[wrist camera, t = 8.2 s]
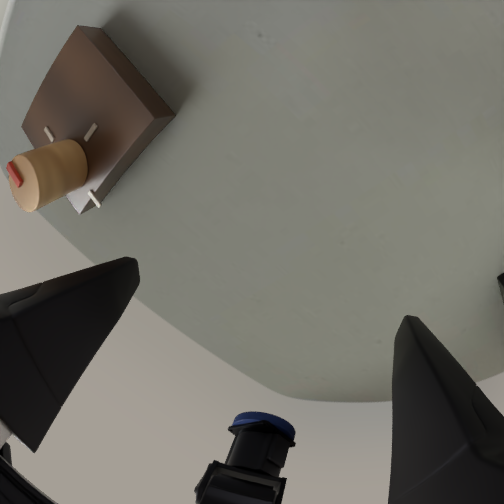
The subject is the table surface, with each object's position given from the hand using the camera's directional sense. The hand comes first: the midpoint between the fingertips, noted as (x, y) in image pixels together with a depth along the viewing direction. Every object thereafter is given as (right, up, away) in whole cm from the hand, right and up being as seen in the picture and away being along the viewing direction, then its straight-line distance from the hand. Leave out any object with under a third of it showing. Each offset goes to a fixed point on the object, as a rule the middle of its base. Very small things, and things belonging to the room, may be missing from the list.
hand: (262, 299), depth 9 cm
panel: (-12, +11, +9) cm, 19 cm away
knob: (-13, +8, +9) cm, 18 cm away
